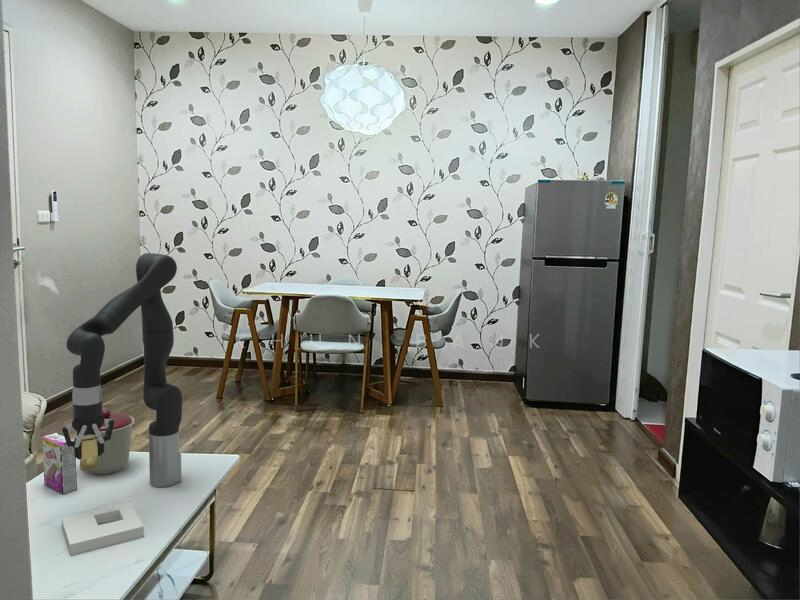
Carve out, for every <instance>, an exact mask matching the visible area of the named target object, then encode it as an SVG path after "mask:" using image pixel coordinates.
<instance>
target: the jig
mask: <svg viewBox="0 0 800 600" xmlns="http://www.w3.org/2000/svg"><path fill="white" fill-rule="evenodd" d="M144 527H145V526H144V525H143V522H142V521H141V519H140V517H139V515H138V513H137V512H136V510H135V508H134V506H133V505H132V502H128V503H123V504H118V505H114V506H109V507H106V508H101V509H97V510H92V511H87V512H84V513H80V514H75V515H71V516H66V517H61V530H62V533H63V536H64V539H65V542H66V546H67V549H68V552H69V555H70V556H73V555H77V554H81V553H85V552H89V551H94V550H97V549H102V548H105V547H109V546H112V545H117V544H120V543H125V542H127V541H132V540H134V539H135V540H136V539H139V538H142V537H143V538H144V537H145V529H144Z"/></svg>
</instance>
